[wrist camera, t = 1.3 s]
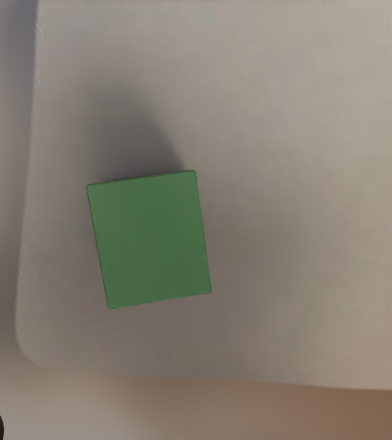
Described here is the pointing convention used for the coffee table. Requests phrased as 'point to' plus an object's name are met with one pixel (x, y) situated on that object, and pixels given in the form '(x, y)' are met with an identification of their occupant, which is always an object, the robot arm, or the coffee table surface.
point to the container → (149, 238)
